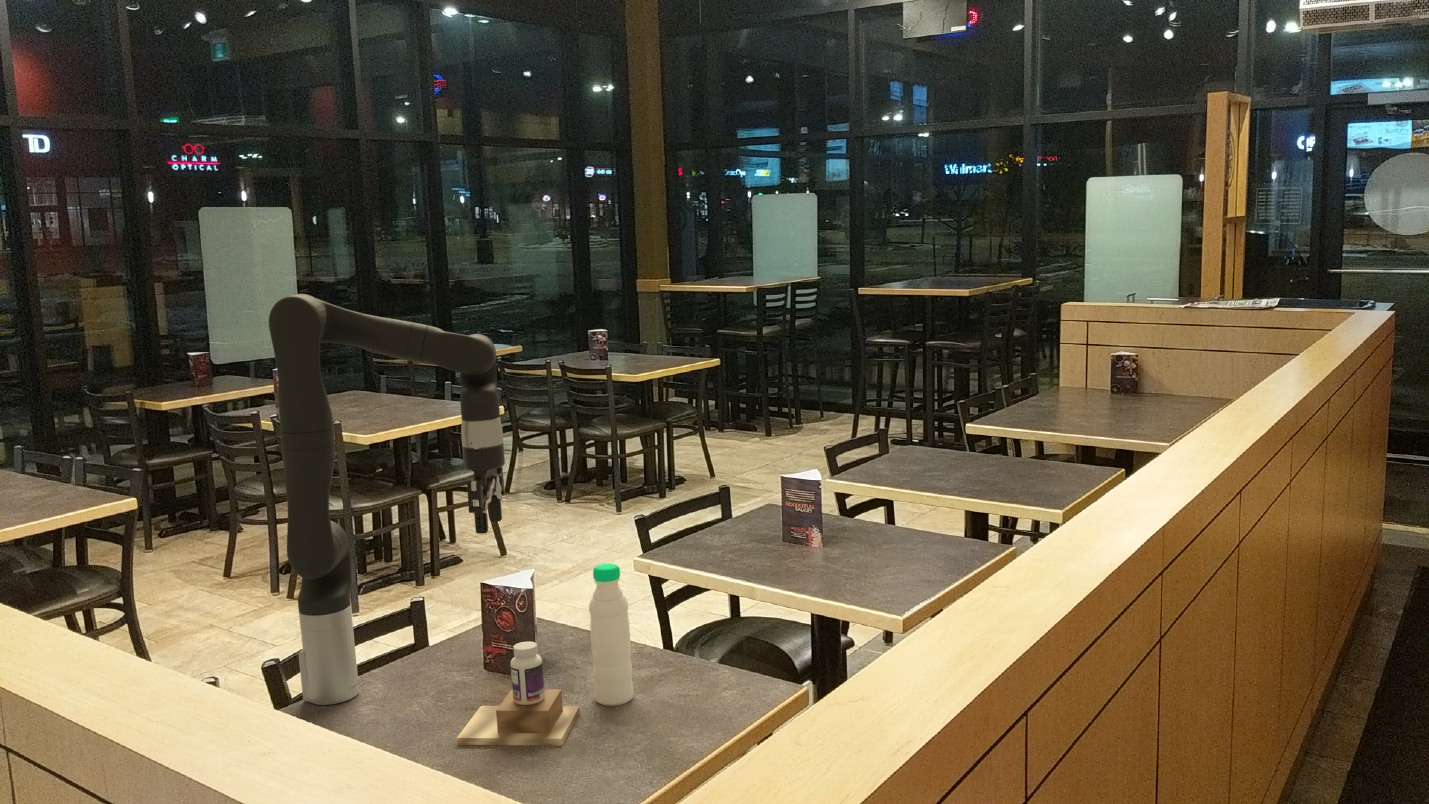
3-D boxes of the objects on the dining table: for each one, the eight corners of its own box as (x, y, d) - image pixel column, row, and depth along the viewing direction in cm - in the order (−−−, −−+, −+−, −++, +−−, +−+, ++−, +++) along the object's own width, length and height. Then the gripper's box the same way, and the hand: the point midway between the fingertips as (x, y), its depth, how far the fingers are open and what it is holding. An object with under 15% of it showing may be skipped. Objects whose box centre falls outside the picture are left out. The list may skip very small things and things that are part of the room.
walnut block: (497, 733, 195) (495, 710, 194) (513, 710, 203) (511, 689, 203) (549, 733, 193) (548, 710, 193) (562, 711, 202) (561, 689, 202)
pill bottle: (548, 693, 200) (544, 639, 199) (540, 706, 195) (536, 651, 194) (517, 693, 201) (513, 639, 199) (509, 706, 196) (505, 651, 194)
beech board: (457, 744, 194) (456, 737, 193) (481, 712, 206) (480, 705, 206) (561, 745, 191) (561, 738, 191) (579, 712, 204) (579, 706, 204)
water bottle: (587, 703, 208) (578, 569, 204) (608, 689, 214) (600, 558, 210) (620, 709, 205) (612, 573, 201) (641, 694, 211) (633, 562, 207)
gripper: (475, 435, 222) (481, 517, 224) (450, 450, 208) (457, 537, 210) (513, 434, 221) (519, 517, 223) (490, 449, 207) (497, 537, 209)
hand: (489, 527), depth 217 cm, fingers open, 8 cm apart
